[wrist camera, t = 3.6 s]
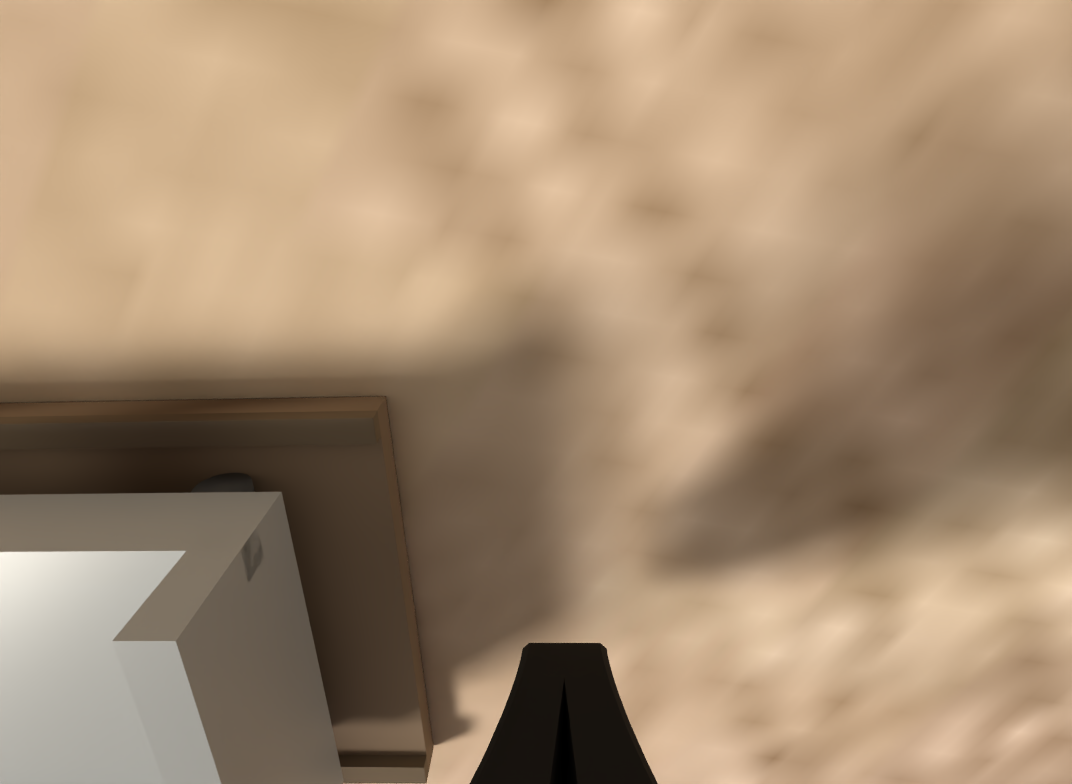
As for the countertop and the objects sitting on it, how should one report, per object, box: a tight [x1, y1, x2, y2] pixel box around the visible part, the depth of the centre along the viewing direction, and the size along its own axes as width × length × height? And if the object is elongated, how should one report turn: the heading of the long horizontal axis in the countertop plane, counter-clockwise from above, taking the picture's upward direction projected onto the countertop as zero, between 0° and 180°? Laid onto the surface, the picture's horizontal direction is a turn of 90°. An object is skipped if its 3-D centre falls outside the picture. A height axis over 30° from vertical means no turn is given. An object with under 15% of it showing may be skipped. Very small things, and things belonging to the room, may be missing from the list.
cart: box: [0, 473, 344, 784], centre depth 12 cm, size 9×7×4 cm
